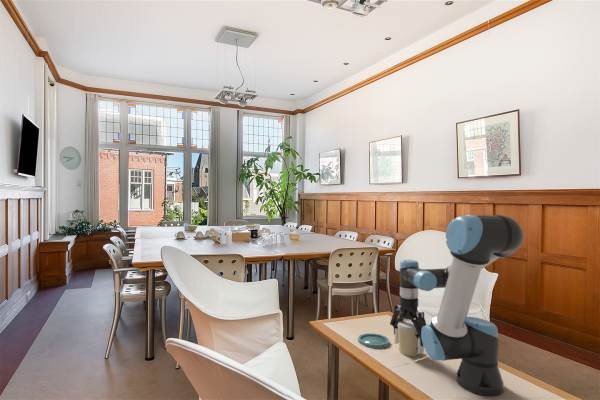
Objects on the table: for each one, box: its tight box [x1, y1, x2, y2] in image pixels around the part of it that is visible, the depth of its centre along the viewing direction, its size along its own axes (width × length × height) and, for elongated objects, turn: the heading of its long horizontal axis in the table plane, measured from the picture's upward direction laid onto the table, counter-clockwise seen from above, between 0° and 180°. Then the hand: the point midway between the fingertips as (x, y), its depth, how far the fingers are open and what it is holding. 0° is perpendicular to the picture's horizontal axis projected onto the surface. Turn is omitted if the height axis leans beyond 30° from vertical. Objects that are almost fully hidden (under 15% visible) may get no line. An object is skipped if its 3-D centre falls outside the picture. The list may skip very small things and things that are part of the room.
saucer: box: [357, 332, 390, 349], centre depth 165 cm, size 14×14×2 cm
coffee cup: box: [398, 320, 420, 357], centre depth 154 cm, size 9×9×12 cm
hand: (408, 347), depth 154 cm, fingers open, 12 cm apart
